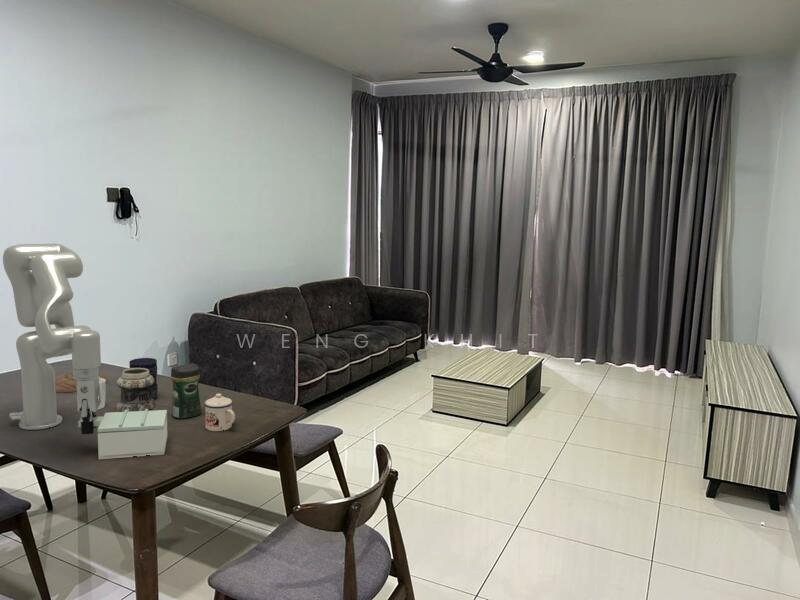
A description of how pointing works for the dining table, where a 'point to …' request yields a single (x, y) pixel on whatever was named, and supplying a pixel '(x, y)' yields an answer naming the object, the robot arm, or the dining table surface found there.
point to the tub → (132, 443)
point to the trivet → (68, 383)
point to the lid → (130, 420)
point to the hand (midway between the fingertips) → (89, 430)
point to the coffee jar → (185, 391)
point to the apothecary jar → (135, 390)
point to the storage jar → (152, 367)
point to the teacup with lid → (218, 413)
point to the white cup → (102, 392)
